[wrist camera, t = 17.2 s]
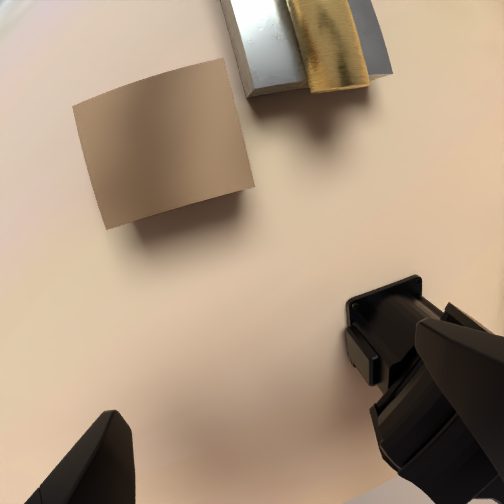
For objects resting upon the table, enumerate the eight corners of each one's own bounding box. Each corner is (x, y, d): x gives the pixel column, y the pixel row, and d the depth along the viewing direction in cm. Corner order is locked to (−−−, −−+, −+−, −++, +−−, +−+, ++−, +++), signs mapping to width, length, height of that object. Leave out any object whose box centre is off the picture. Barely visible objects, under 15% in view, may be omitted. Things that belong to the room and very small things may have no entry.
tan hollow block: (217, 78, 16) (223, 58, 12) (242, 177, 18) (254, 186, 14) (100, 114, 15) (72, 106, 11) (127, 211, 17) (106, 230, 13)
